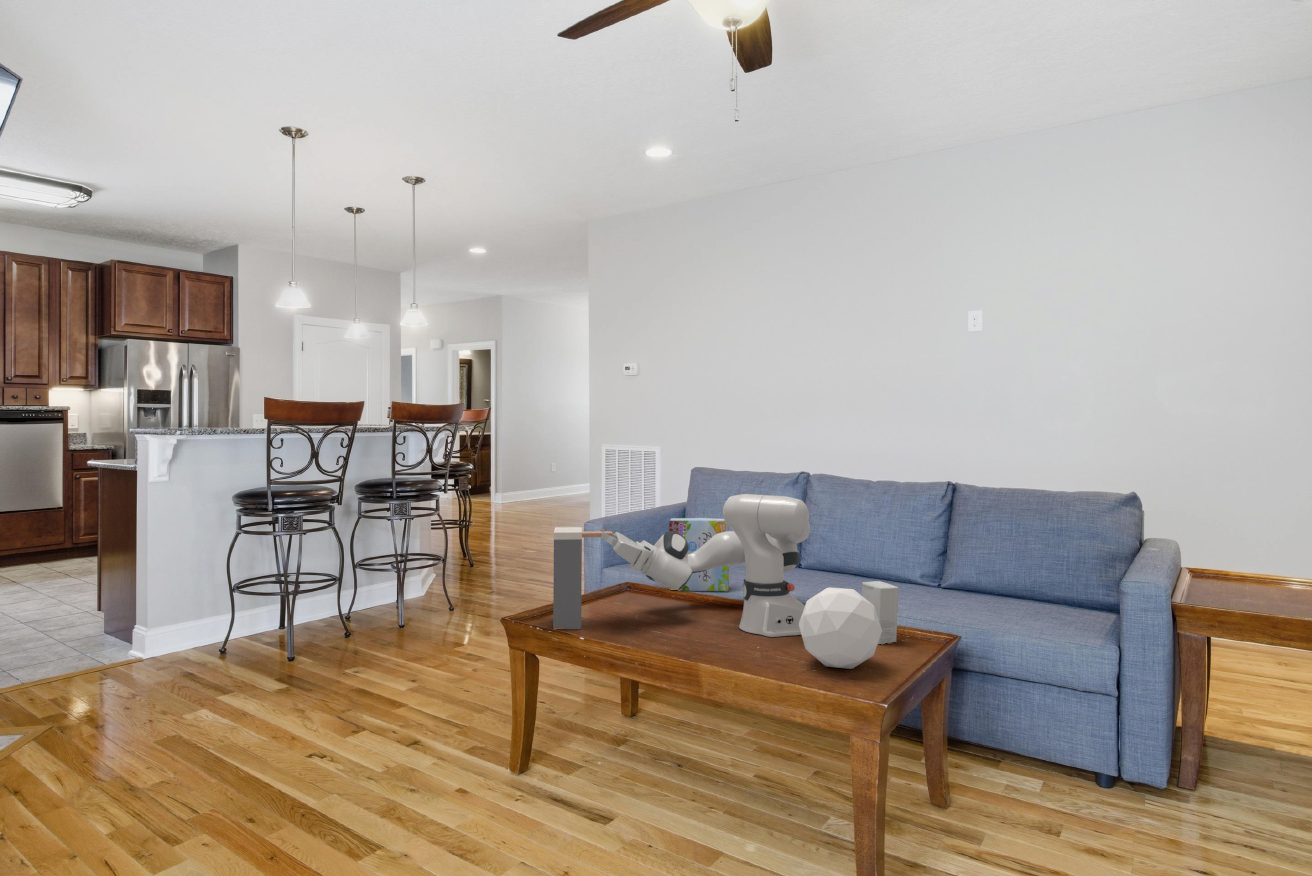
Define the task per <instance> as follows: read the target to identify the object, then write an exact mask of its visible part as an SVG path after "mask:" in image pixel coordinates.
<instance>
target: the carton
mask: <svg viewBox="0 0 1312 876" xmlns="http://www.w3.org/2000/svg"><path fill="white" fill-rule="evenodd" d="M582 553H583V538H582V539H568V540H554V539H553V588H552V589H553V592H552V595H553V597H552V598H553V600H552V601H553V605H552V606H553V609H552V611H553V614H552V617H553V618H552V620H553V621H552V628H564V629H581V630H582V582H583V581H582V578H583V577H582V574H583V573H582V570H583V567H582V566H583V565H582V563H583V557H582V556H583V554H582Z"/></svg>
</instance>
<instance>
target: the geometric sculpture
mask: <svg viewBox="0 0 1312 876" xmlns="http://www.w3.org/2000/svg"><path fill="white" fill-rule="evenodd" d="M804 606H805V608H804V611H803V613H802V616H801V619H800V622H799V627H800V631H801V639H802V641H803V645H804V648H805V650H806V651H807V652H808V653H809V654H810V655H812V656H813V657H814V658H815V659H817V660H818V661H819V662H820V663H821V664H823V666H825V667H827V668H828V667H831V668H840V669H849V670H850V669H851V670H853V669H854V668H855V667H857V666H859V665H860V664H862V663H864V662H865V661H867V660H868V659H869V660H870V658H872V657H874V655H875V653H876V650H877V646H878V641H879V639H880V636H881V633H882V629H881V626H880V623H879V620H878V616H877V613H876V610H875V607H874V605H873V604H871V603H870V602H869V601H868V600H866V599H865V598H864V597H863V596H862V594H861V593H859V592H857V590H855V589H854V588H843V587H842V588H841V587H827V588H825V589H823V590H821V591H819V592H818V593H817V594H815V595H814V596H812V597H810V598H809V599H808V600H806V602H805V604H804Z"/></svg>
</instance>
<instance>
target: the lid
mask: <svg viewBox="0 0 1312 876" xmlns="http://www.w3.org/2000/svg"><path fill="white" fill-rule="evenodd" d="M582 527H583V526H573V527H572V526H565V527H564V526H559V527H558V526H555V527H554V531H553V541H554V540H568V539H582V540H583V538H601V535H602V533H603V532H604V533H606V534H608V535H609V536H611V537H613V534H614V533H613V531H612V530H611V531H610V530H609V531H608V530H606V531H601V530H600V531H599V530H597V531H594V530H593V531H583V528H582Z"/></svg>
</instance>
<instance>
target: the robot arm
mask: <svg viewBox="0 0 1312 876" xmlns="http://www.w3.org/2000/svg"><path fill="white" fill-rule="evenodd" d="M722 519H724V521H725V523H726V524H727V525H728V526H729V528H730V529H731V530H732V531H731V530H729V531H726V532H721V533H718V534H716V535H714V536H713V537H712V538H710V539H709V540H708V541H707V542H706V543H705V544H704V545H703V546H701V547H700V548H699V549H698V550H696V551H695V552H693V553H691V554H688V550H689V546H688V542H687V540H686V539H685V538H684V537H683V536H682V535H681V534H679V533H677V532H674V531H669V530H668V531H666V532H665V533H663V534H662V535H661V537H660V538H658V540H657V541H656V542H655V544H654V545H653V544H651V543H649V542H648V541H646V540H645V539H643V540H642V541H640V542H639V541H638V540H637V541H634V540H632V539H631V538H628V537H627V536H626V535H624V534H623V533H620V532H618V531H615V532H614V533H613V537H611V536H609V535H608V534H606V533H604V532H603V533H602V535H601V537H600V538H601V539H602V540H604V541H605V542H606V543H608V544H609V545H610V546H612V548H613V551H614V552H615V554H617V555H618V556H619V557H621V558H623V560H625V561H627V562H628V563H629V564H628V566H629V567H630V568H632V569H633V570H635V571H637V572H639V573H640V574H643V575H644V576H645V577H646V578H647V579H649V580H650V581H652V582H655V583H658V584H660V585H662V586H664V587H666V588H668V589H669V590H670V589H673V590H680V589H682V588H683V587H684V586H685V584H686V583H687V582H688V580H689V579H690V577H691V575H692V573H697V572H702V571H706V570H709V569H713V568H717V567H723V566H729V567H730V566H740V565H744V568H745V569H744V572H745V574H744V576H745V578H744V580H743V585H742V586H743V588H742V596H743V609H742V614H741V618H740V623H739V625H738V627H739V629H740V630H742V631H743V632H745V633H750V634H757V635H761V636H765V637H768V638H775V637H787V636H799V635H801V631H800V627H799V622H800V619H801V616H802V613H803V611H804V608H805V604H803V603H802V602H801V601H800V600H799V599H797V598H796V597H795V596H793V595H792V593H790V592H794V591H795V589H796V586H795V585H794V584H793V583H790V582H788V581H786V580H784V573H786V572H787V573H788V572H791V570H793V569H795V568H797V567H798V566H799V564H800V553H799V552H798V546H797V544H799V543H802V542H804V541H806V540H807V539H808V537H809V536H810V534H811V524H810V521H809V520H810V512H809V508H808V506H807V504H806V503H805V502H804V501H803V499H800V498H795V497H792V496H786V495H773V494H772V495H769V494H768V495H767V494H753V493H752V494H751V493H743V494H736V495H731V496H729V497H728V498H727V499H726V500H725V502H724V505H723V508H722ZM600 531H607V530H606V529H603V528H602V529H601V530H600ZM801 636H802V635H801Z"/></svg>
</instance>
